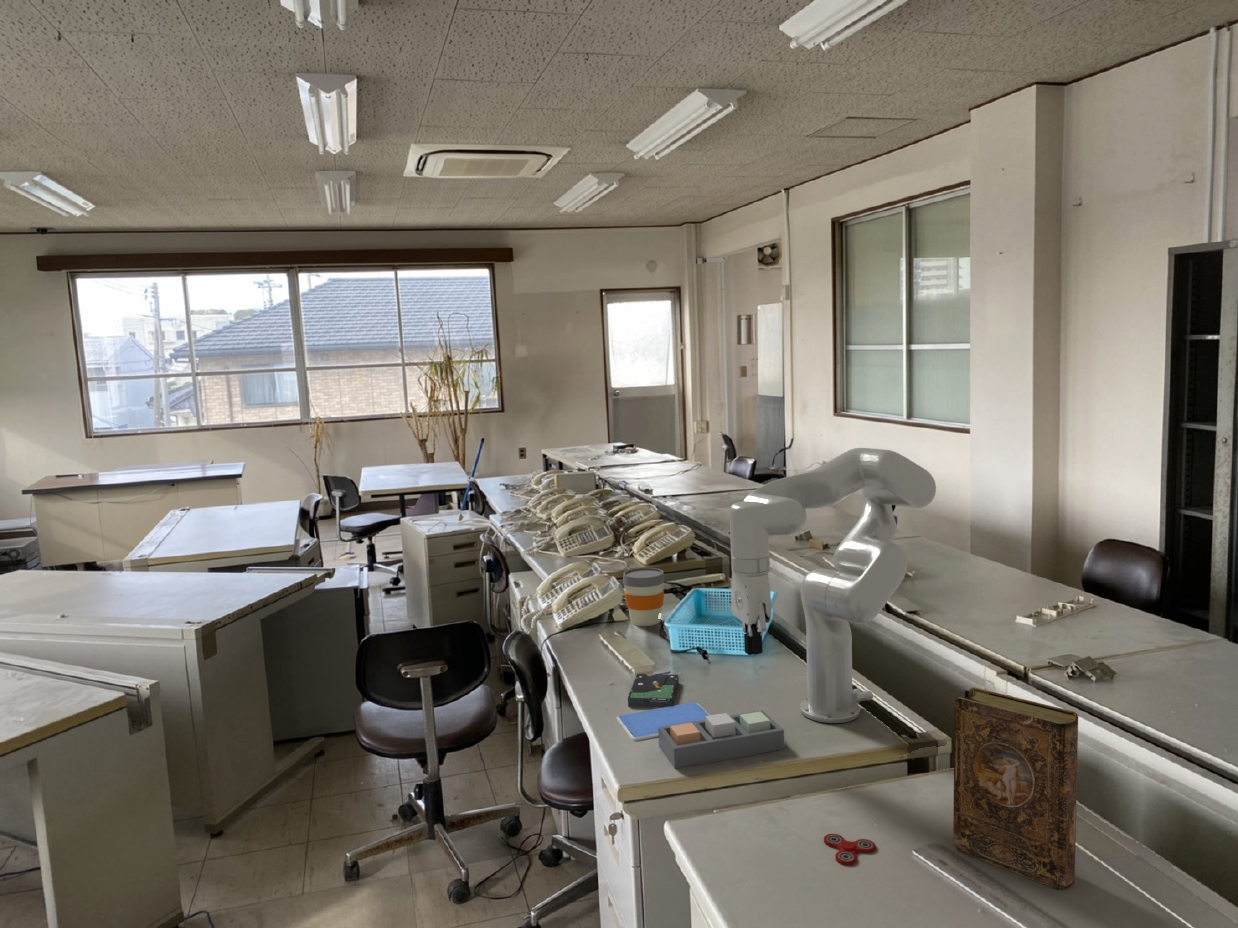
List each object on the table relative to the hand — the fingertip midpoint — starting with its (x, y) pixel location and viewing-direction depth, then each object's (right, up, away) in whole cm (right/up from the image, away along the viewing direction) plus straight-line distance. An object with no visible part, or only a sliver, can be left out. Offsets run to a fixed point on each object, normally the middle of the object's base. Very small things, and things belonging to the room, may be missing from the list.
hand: (753, 652), depth 169 cm
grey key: (-7, -16, 0) cm, 17 cm away
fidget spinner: (+10, -24, -36) cm, 44 cm away
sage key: (+1, -16, +2) cm, 16 cm away
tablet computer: (-17, -19, +14) cm, 29 cm away
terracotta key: (-14, -17, -2) cm, 22 cm away
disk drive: (-19, -17, +29) cm, 38 cm away
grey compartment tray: (-7, -19, 0) cm, 20 cm away
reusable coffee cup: (-19, -10, +84) cm, 87 cm away
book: (+33, -23, -41) cm, 58 cm away
